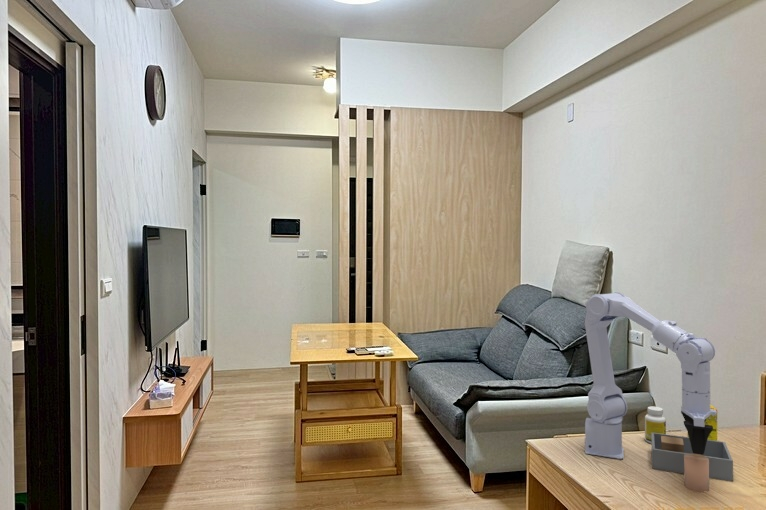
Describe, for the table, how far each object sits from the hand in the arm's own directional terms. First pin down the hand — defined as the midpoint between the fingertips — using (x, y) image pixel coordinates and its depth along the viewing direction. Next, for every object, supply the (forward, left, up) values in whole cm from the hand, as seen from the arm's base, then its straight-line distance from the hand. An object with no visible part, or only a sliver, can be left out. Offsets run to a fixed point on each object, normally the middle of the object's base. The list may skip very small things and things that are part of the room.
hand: (696, 447), depth 121 cm
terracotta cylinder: (0, 0, -9) cm, 9 cm away
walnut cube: (-4, +14, -8) cm, 17 cm away
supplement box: (+4, +32, -10) cm, 33 cm away
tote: (-1, +14, -9) cm, 16 cm away
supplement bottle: (-8, +28, -10) cm, 30 cm away
